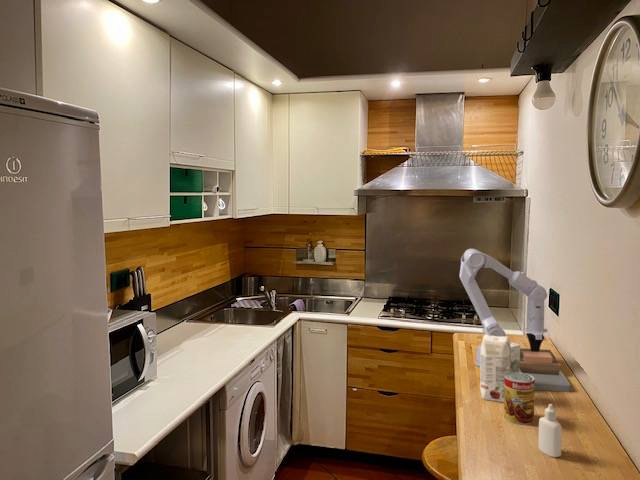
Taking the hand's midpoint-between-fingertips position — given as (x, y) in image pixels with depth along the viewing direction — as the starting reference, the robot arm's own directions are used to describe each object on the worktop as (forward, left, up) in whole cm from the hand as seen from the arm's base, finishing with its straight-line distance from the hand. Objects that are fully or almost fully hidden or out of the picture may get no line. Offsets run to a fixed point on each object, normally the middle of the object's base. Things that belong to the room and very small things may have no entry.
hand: (534, 353), depth 182 cm
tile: (-3, -3, -1) cm, 4 cm away
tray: (-10, -12, -5) cm, 16 cm away
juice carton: (-33, -14, -5) cm, 37 cm away
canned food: (-38, -28, -5) cm, 48 cm away
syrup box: (-23, -9, -5) cm, 26 cm away
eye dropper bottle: (-46, -45, -5) cm, 65 cm away
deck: (0, 0, -5) cm, 5 cm away
